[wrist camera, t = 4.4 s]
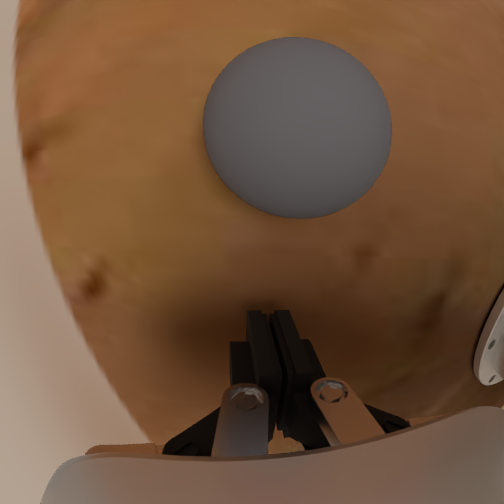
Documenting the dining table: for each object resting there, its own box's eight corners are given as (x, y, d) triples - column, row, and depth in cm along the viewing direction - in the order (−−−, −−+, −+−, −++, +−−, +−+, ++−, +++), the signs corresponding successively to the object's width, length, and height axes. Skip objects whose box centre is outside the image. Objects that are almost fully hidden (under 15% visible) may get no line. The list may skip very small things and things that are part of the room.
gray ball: (369, 155, 11) (459, 162, 6) (263, 230, 12) (295, 289, 7) (295, 46, 10) (345, -21, 4) (180, 118, 10) (140, 86, 5)
